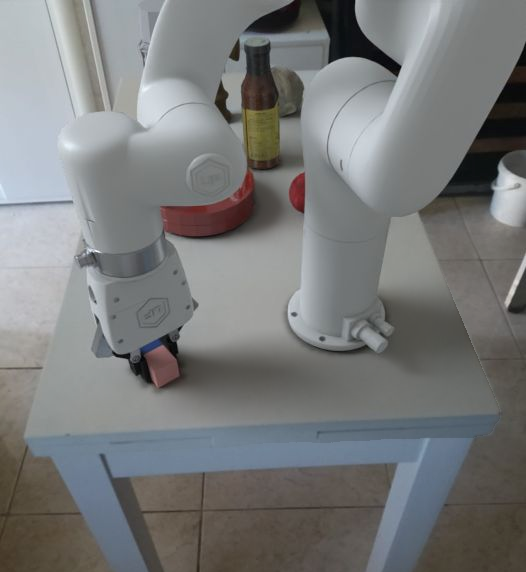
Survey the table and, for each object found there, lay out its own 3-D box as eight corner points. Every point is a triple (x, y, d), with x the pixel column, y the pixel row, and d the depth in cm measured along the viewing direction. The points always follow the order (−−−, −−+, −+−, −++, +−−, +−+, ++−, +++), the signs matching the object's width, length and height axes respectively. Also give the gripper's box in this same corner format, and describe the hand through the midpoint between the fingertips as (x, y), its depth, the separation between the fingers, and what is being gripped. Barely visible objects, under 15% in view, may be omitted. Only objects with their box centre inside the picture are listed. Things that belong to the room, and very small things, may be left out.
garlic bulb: (300, 125, 115) (319, 81, 106) (265, 130, 111) (282, 85, 102) (278, 94, 118) (294, 49, 110) (243, 97, 114) (257, 51, 106)
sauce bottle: (287, 163, 101) (289, 42, 86) (258, 175, 98) (255, 53, 83) (264, 148, 104) (262, 30, 89) (236, 159, 102) (230, 40, 87)
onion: (322, 226, 88) (325, 180, 82) (285, 222, 89) (286, 176, 83) (327, 205, 92) (330, 159, 86) (291, 201, 93) (293, 156, 87)
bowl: (276, 211, 91) (276, 186, 87) (184, 253, 84) (181, 228, 81) (215, 166, 100) (213, 142, 97) (128, 201, 93) (123, 177, 90)
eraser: (180, 376, 69) (177, 359, 66) (157, 388, 67) (153, 372, 65) (155, 346, 72) (151, 330, 69) (133, 358, 70) (128, 341, 68)
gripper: (65, 302, 51) (110, 421, 64) (218, 232, 57) (229, 353, 71) (32, 259, 55) (81, 380, 68) (178, 199, 61) (196, 320, 75)
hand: (156, 365), depth 69 cm, fingers closed on eraser, 3 cm apart
